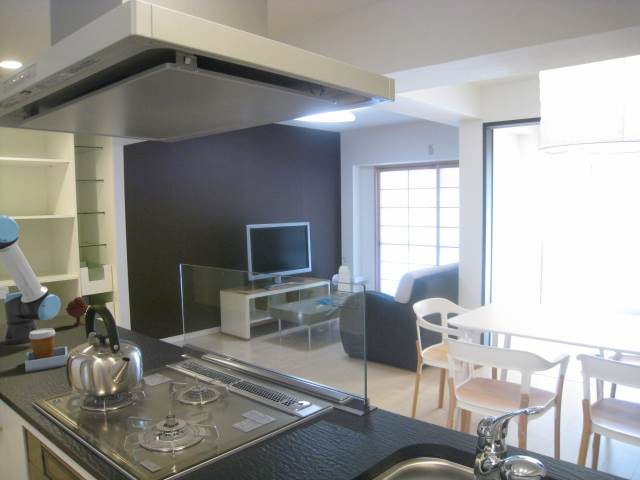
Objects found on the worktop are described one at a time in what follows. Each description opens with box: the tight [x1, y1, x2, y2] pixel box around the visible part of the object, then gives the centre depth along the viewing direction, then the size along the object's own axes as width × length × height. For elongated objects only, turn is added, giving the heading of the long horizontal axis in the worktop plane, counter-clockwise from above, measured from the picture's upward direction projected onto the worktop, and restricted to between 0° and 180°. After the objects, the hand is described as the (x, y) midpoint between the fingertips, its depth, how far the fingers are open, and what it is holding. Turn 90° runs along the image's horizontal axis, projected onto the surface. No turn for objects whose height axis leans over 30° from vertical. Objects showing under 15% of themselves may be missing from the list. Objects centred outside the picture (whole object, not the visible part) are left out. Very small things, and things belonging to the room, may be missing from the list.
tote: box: [24, 346, 69, 373], centre depth 201 cm, size 15×15×4 cm
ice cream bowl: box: [65, 296, 90, 327], centre depth 266 cm, size 11×11×15 cm
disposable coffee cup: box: [29, 327, 56, 360], centre depth 202 cm, size 10×10×12 cm
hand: (7, 292), depth 195 cm, fingers open, 13 cm apart
